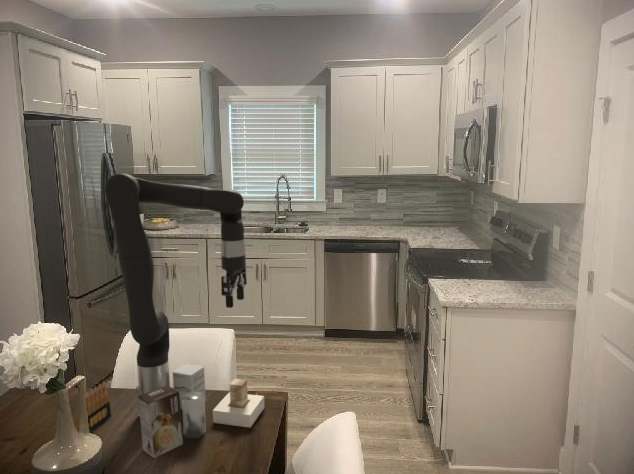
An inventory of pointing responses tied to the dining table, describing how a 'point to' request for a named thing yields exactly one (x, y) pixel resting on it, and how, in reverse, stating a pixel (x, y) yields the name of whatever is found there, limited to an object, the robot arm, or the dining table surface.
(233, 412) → the socket block
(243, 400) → the square peg
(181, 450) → the dining table surface
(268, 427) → the dining table surface
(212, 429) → the dining table surface
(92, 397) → the ammunition clip
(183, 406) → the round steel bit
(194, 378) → the supplement box
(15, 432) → the dining table surface
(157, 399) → the coffee box
